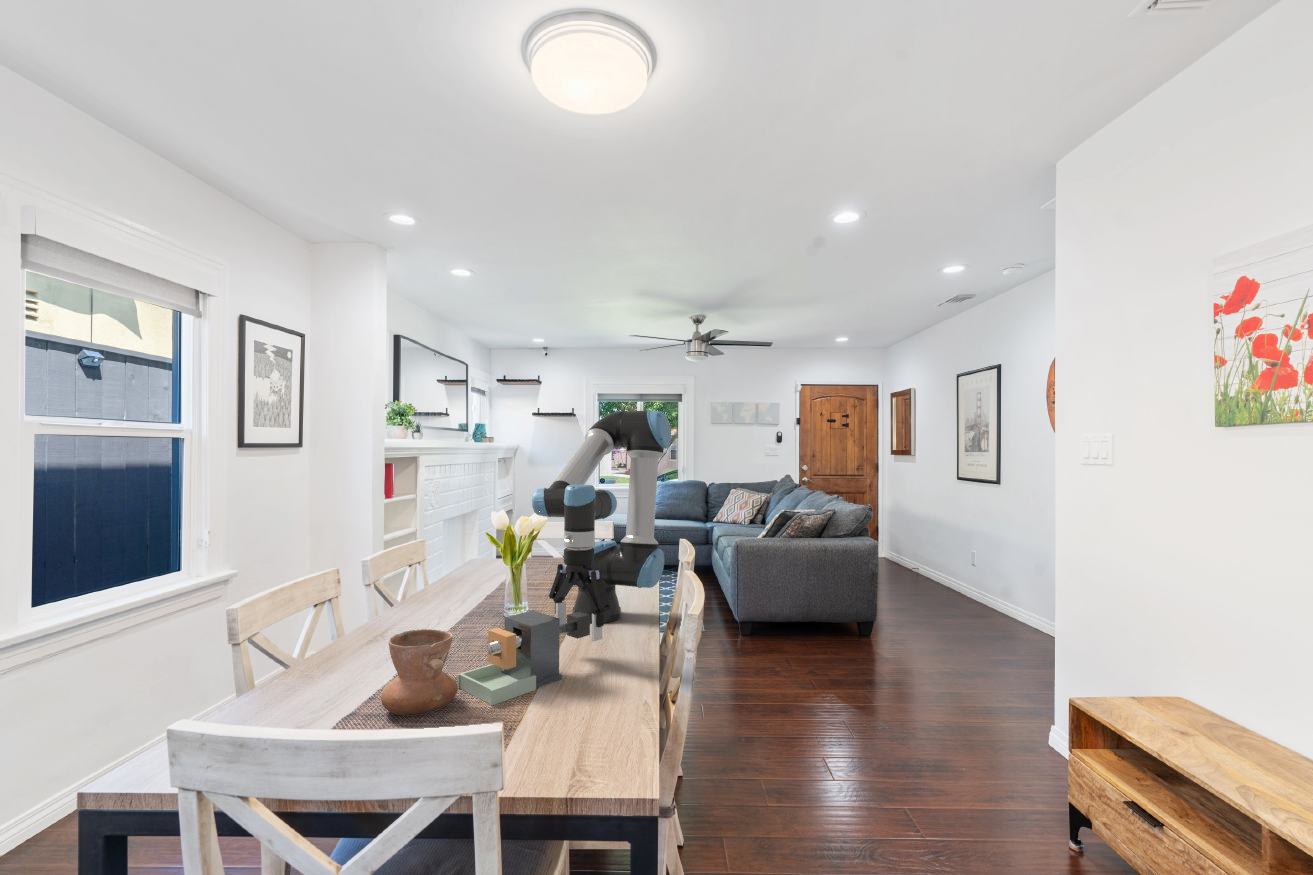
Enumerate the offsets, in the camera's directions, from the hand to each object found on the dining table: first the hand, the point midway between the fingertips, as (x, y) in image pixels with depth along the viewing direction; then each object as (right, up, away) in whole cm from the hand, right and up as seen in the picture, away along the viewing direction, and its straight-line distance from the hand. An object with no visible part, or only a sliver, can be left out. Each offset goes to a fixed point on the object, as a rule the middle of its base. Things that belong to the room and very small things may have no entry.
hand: (578, 634), depth 150 cm
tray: (-15, -6, -17) cm, 24 cm away
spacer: (-15, +2, -16) cm, 22 cm away
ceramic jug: (-29, -6, -26) cm, 40 cm away
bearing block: (-9, -7, -11) cm, 16 cm away
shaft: (-8, 0, -9) cm, 12 cm away
